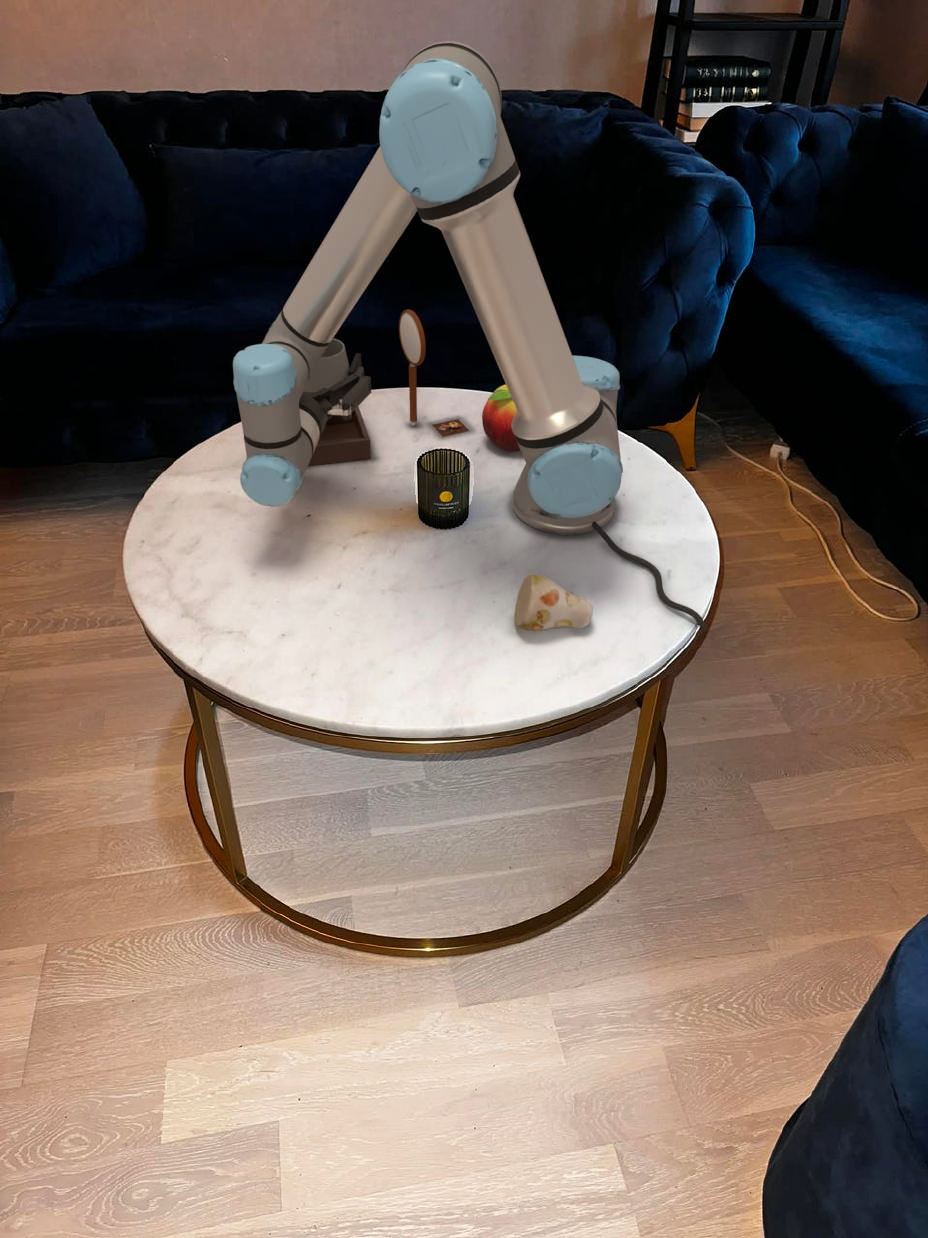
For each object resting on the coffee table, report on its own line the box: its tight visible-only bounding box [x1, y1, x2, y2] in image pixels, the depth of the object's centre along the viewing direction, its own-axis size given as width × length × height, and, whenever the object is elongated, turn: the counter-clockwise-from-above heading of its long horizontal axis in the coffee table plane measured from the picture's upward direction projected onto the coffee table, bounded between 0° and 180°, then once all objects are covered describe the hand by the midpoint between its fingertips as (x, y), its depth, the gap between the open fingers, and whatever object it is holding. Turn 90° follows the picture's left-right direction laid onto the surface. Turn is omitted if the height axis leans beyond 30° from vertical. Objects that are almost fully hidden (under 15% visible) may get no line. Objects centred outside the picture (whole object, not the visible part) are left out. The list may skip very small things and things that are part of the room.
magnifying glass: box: [398, 309, 427, 427], centre depth 153 cm, size 9×2×20 cm, turn 27°
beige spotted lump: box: [514, 574, 594, 631], centre depth 120 cm, size 8×10×10 cm
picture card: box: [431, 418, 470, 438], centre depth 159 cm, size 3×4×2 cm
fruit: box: [481, 384, 521, 452], centre depth 153 cm, size 11×11×10 cm
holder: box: [308, 405, 372, 467], centre depth 154 cm, size 12×12×4 cm
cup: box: [304, 337, 350, 406], centre depth 147 cm, size 10×9×10 cm
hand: (327, 359), depth 150 cm, fingers closed on cup, 9 cm apart
